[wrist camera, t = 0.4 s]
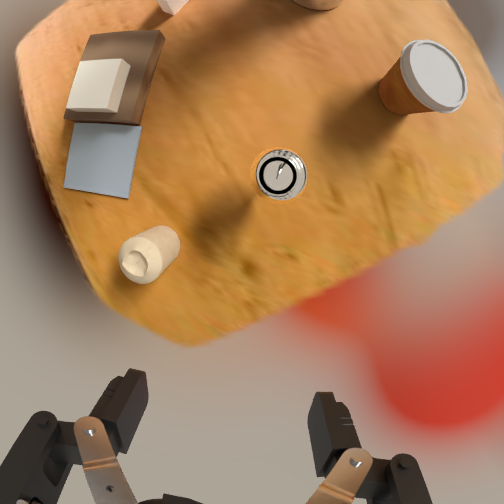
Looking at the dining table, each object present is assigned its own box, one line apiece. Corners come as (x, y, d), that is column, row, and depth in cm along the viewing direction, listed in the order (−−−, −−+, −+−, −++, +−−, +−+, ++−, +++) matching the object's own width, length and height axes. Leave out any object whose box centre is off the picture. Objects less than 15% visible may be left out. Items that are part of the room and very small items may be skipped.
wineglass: (255, 202, 38) (255, 211, 26) (247, 159, 36) (243, 149, 25) (298, 194, 37) (318, 201, 26) (291, 151, 36) (307, 139, 24)
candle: (142, 259, 40) (112, 283, 30) (145, 222, 38) (113, 235, 29) (178, 266, 40) (156, 293, 30) (183, 228, 38) (160, 244, 29)
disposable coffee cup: (420, 134, 35) (470, 124, 23) (364, 113, 34) (404, 91, 23) (424, 80, 32) (468, 58, 21) (370, 57, 32) (405, 23, 20)
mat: (76, 122, 35) (74, 122, 34) (142, 126, 35) (141, 126, 35) (65, 187, 37) (63, 187, 37) (129, 198, 37) (127, 198, 37)
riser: (98, 41, 31) (90, 35, 28) (165, 38, 32) (159, 30, 29) (74, 121, 34) (63, 118, 32) (139, 124, 35) (131, 120, 32)
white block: (90, 67, 30) (80, 61, 27) (130, 65, 30) (121, 58, 27) (77, 111, 31) (66, 108, 29) (117, 112, 32) (106, 108, 29)
